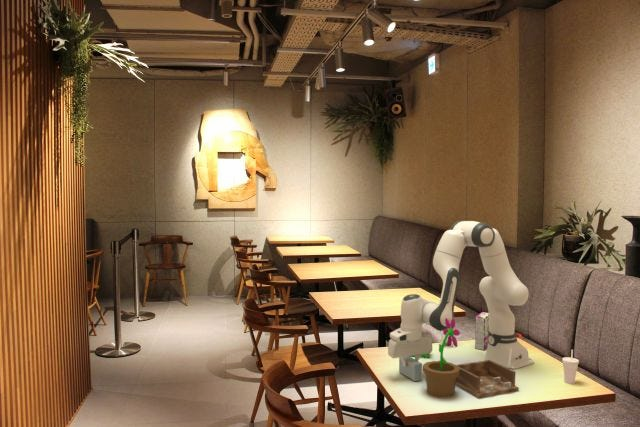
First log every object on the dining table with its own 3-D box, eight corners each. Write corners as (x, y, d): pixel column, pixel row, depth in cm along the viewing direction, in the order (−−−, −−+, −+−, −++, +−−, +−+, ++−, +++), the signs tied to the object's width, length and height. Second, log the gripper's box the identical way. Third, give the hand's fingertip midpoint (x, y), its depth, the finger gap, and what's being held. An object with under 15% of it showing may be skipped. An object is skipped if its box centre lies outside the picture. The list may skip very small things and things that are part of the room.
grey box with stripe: (398, 371, 240) (399, 355, 239) (406, 370, 241) (406, 354, 240) (414, 381, 229) (414, 364, 228) (421, 379, 230) (422, 363, 230)
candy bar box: (480, 343, 284) (481, 311, 283) (490, 345, 281) (491, 313, 280) (474, 349, 274) (475, 316, 273) (484, 350, 272) (485, 317, 270)
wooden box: (489, 376, 236) (490, 359, 236) (518, 391, 221) (519, 372, 220) (451, 383, 228) (451, 365, 228) (478, 398, 213) (479, 379, 212)
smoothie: (570, 386, 227) (572, 352, 226) (557, 381, 232) (559, 348, 231) (581, 383, 230) (583, 350, 229) (568, 378, 235) (569, 346, 234)
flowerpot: (466, 397, 213) (468, 321, 211) (432, 401, 209) (435, 323, 207) (447, 384, 227) (449, 312, 225) (415, 387, 223) (417, 314, 221)
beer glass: (453, 348, 274) (454, 318, 273) (439, 347, 276) (440, 317, 275) (453, 344, 281) (454, 315, 280) (439, 343, 283) (440, 314, 282)
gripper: (427, 328, 241) (426, 359, 241) (386, 333, 232) (385, 366, 233) (435, 332, 235) (435, 364, 236) (394, 337, 227) (393, 371, 228)
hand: (410, 365), depth 234 cm, fingers closed on grey box with stripe, 4 cm apart
